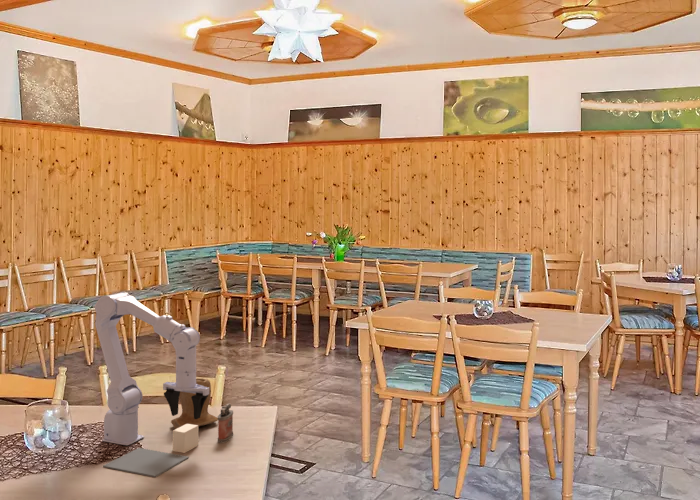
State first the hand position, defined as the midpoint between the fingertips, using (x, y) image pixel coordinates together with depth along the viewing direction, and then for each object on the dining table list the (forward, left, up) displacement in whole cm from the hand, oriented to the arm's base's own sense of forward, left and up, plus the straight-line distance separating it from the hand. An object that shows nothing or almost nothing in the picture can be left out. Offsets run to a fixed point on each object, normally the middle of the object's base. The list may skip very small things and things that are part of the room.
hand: (185, 416), depth 208 cm
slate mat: (-3, -14, -9) cm, 17 cm away
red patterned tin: (+6, +12, -10) cm, 16 cm away
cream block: (0, 0, -9) cm, 9 cm away
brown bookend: (-10, +18, -10) cm, 23 cm away
